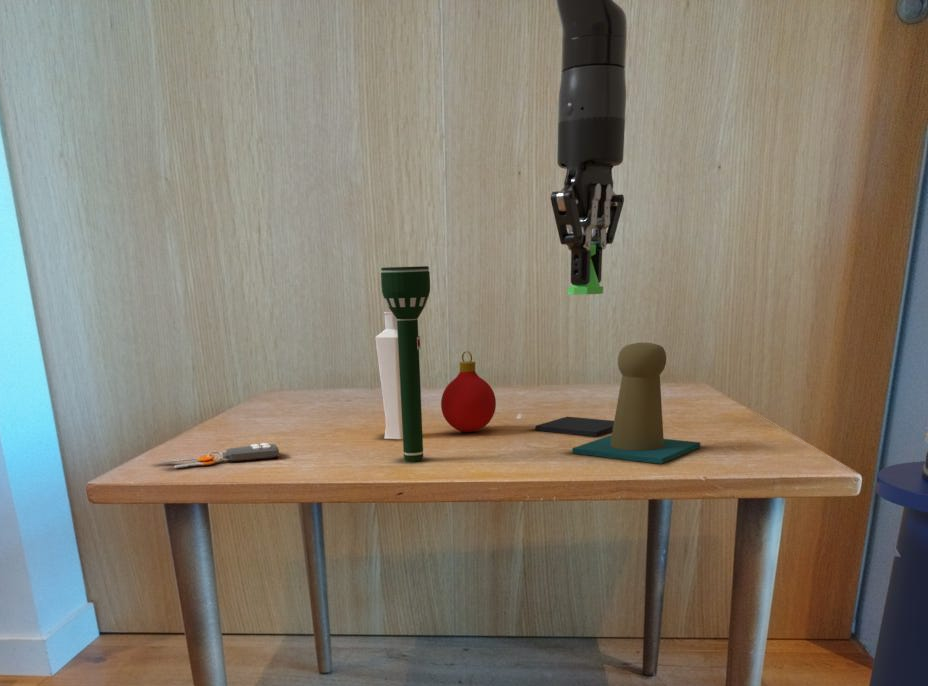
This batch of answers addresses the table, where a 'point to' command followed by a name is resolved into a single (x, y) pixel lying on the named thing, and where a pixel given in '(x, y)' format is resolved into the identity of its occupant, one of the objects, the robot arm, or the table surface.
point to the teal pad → (653, 456)
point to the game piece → (593, 284)
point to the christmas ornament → (468, 400)
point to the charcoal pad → (577, 426)
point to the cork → (639, 398)
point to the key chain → (235, 455)
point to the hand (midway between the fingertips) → (586, 283)
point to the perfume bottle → (390, 376)
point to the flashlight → (408, 346)
